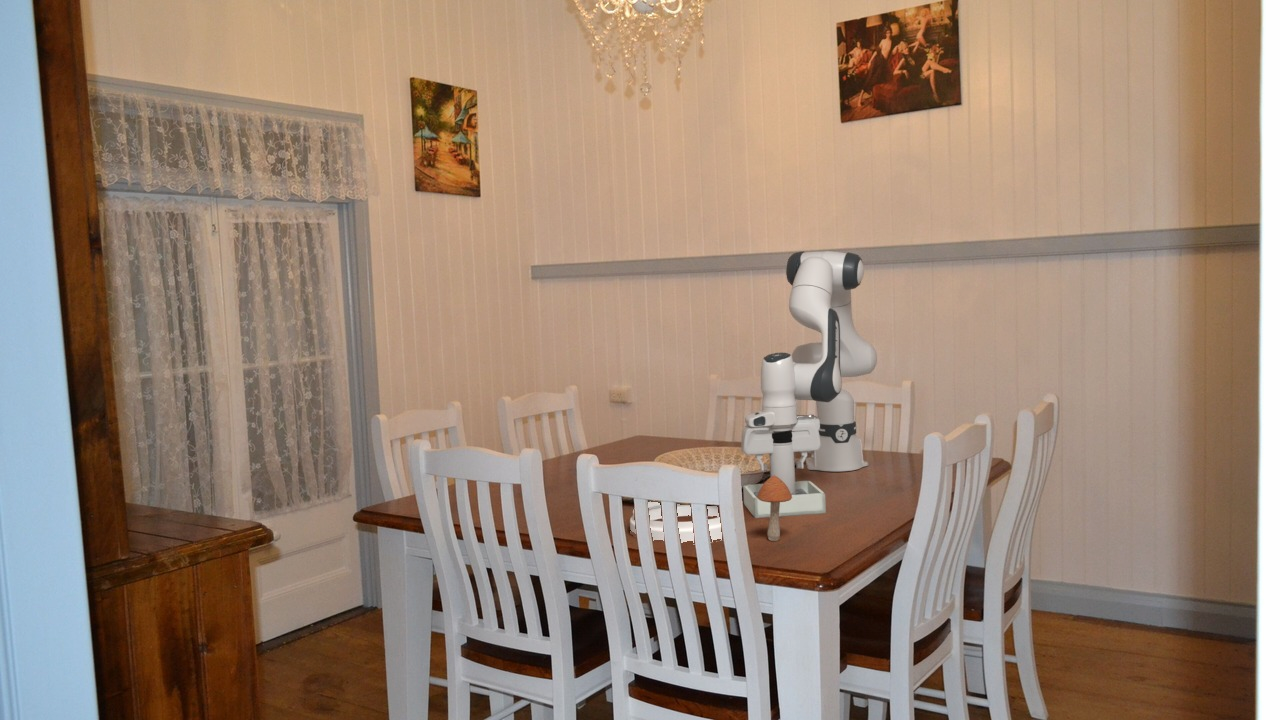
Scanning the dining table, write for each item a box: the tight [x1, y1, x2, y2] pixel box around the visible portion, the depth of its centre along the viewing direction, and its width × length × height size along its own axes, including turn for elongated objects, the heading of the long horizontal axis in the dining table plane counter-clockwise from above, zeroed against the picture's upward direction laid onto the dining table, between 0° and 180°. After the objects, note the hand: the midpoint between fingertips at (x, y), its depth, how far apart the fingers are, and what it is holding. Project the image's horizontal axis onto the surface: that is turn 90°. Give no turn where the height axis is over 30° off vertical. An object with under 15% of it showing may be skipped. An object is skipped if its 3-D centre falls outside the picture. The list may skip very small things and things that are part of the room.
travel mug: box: [769, 430, 796, 495], centre depth 244 cm, size 6×7×20 cm
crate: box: [742, 480, 827, 519], centre depth 245 cm, size 16×18×5 cm
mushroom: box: [757, 475, 792, 542], centre depth 215 cm, size 8×8×15 cm
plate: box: [629, 500, 723, 543], centre depth 229 cm, size 27×27×6 cm
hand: (782, 469), depth 244 cm, fingers open, 8 cm apart
